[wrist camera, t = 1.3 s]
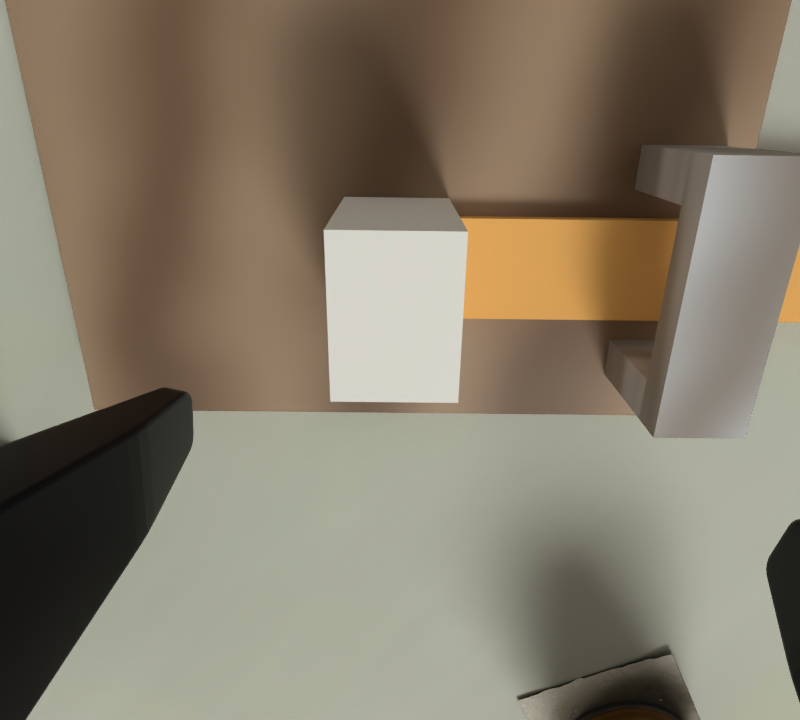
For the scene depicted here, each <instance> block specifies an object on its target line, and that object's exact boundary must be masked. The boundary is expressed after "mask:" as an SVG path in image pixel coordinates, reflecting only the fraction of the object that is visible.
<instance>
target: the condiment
mask: <svg viewBox="0 0 800 720" xmlns="http://www.w3.org/2000/svg"><path fill="white" fill-rule="evenodd" d="M660 699H662V701H659V700H660ZM518 702H519V704H520V706H521V707H522V710H523V711H524V713H525V715H526V716H527V718H528V719H529V720H700V719H699V717H698V714H697V712H696V709H695V707H694V704H693V702H692V700H691V698H690V695H689V693H688V690H687V688H686V686H685V683H684V680H683V678H682V676H681V673H680V671H679V668H678V666H677V664H676V661H675V659H674V657H673V654H672V655H667V656H663V657H659V658H656V659H646V660H644V661H641V662H637V663H633V664H629V665H627V666H624V667H621V668H614V669H611V670H608V671H605V672H601V673H598V674H596V675H593V676H590V677H587V678H577V679H576V680H575V681H573V682H571V683H569V684H566V685H564V686H561V687H558V688H553V689H549V690H545V691H542V692H541V693H539V694H537V695H534V696H531V697H528V698H524V699H521V700H518ZM575 708H578V710H577V712H576V713H574V712H573V710H574V709H575ZM573 714H575V717H574V718H571V716H572V715H573Z"/></svg>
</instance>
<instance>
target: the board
mask: <svg viewBox="0 0 800 720" xmlns="http://www.w3.org/2000/svg"><path fill="white" fill-rule="evenodd" d="M791 1H792V0H5V3H6V7H7V12H8V17H9V21H10V26H11V30H12V35H13V39H14V44H15V49H16V53H17V58H18V62H19V67H20V71H21V76H22V81H23V85H24V90H25V94H26V99H27V103H28V108H29V113H30V117H31V122H32V126H33V131H34V135H35V140H36V145H37V149H38V154H39V158H40V163H41V167H42V172H43V177H44V181H45V186H46V190H47V195H48V199H49V204H50V209H51V213H52V218H53V222H54V227H55V231H56V236H57V241H58V245H59V250H60V254H61V259H62V263H63V268H64V273H65V277H66V282H67V286H68V291H69V295H70V300H71V305H72V309H73V314H74V318H75V323H76V327H77V332H78V337H79V341H80V346H81V350H82V355H83V359H84V364H85V368H86V373H87V378H88V382H89V387H90V391H91V396H92V400H93V405H94V410H101V409H104V408H106V407H109V406H112V405H115V404H117V403H120V402H123V401H126V400H129V399H131V398H134V397H137V396H140V395H142V394H145V393H148V392H151V391H153V390H156V389H159V388H162V387H167V388H172V389H177V390H182V391H186V392H188V393H189V394H190V395H191V398H192V405H193V411H289V412H387V413H486V414H584V415H636V416H637V417H638V418H639V419H640V421H641V422H642V423H643V425H644V426H645V427H646V428H647V430H648V431H649V432H650V434H651V435H652V436H653V437H658V438H745V435H746V432H747V428H748V425H749V421H750V418H751V414H752V411H753V407H754V404H755V400H756V397H757V393H758V390H759V386H760V383H761V379H762V375H763V372H764V368H765V365H766V361H767V358H768V354H769V351H770V347H771V344H772V340H773V337H774V333H775V330H776V326H777V323H778V319H779V316H780V312H781V308H782V305H783V301H784V298H785V294H786V291H787V287H788V284H789V280H790V277H791V273H792V270H793V266H794V263H795V259H796V256H797V252H798V249H799V245H800V154H797V153H788V152H779V151H770V150H761V149H756V147H757V143H758V139H759V135H760V130H761V126H762V122H763V118H764V114H765V109H766V105H767V101H768V97H769V93H770V89H771V84H772V80H773V76H774V72H775V68H776V63H777V59H778V55H779V51H780V47H781V42H782V38H783V34H784V30H785V26H786V21H787V17H788V13H789V9H790V5H791ZM344 197H400V198H449V199H450V201H451V202H452V204H453V206H454V208H455V209H456V211H457V213H458V215H459V216H499V217H579V218H659V219H679V220H678V225H677V230H676V235H675V240H674V245H673V250H672V255H671V260H670V265H669V270H668V275H667V280H666V285H665V290H664V295H663V300H662V306H661V311H660V316H659V321H631V320H543V319H463V329H462V346H461V363H460V380H459V397H458V403H415V402H330V381H329V355H328V329H327V303H326V277H325V252H324V228H325V227H326V225H327V224H328V222H329V220H330V219H331V217H332V216H333V214H334V212H335V211H336V209H337V208H338V206H339V204H340V203H341V201H342V200H343V198H344Z"/></svg>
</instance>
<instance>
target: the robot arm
mask: <svg viewBox="0 0 800 720" xmlns="http://www.w3.org/2000/svg"><path fill="white" fill-rule="evenodd" d="M192 443H193V405H192V398H191V395H190V394H189V393H188V392H186V391H182V390H177V389H172V388H167V387H162V388H159V389H156V390H153V391H151V392H148V393H145V394H142V395H140V396H137V397H134V398H131V399H129V400H126V401H123V402H120V403H117V404H115V405H112V406H109V407H106V408H104V409H101V410H98V411H95V412H93V413H90V414H87V415H84V416H82V417H79V418H76V419H73V420H71V421H68V422H65V423H62V424H60V425H57V426H54V427H51V428H48V429H46V430H43V431H40V432H37V433H35V434H32V435H29V436H26V437H24V438H21V439H18V440H15V441H13V442H10V443H7V444H4V445H2V446H0V720H26V719H27V717H28V715H29V714H30V712H31V711H32V709H33V708H34V706H35V705H36V703H37V702H38V700H39V699H40V697H41V696H42V694H43V693H44V691H45V690H46V688H47V687H48V685H49V684H50V682H51V681H52V679H53V678H54V676H55V674H56V673H57V671H58V670H59V668H60V667H61V665H62V664H63V662H64V661H65V659H66V658H67V656H68V655H69V653H70V652H71V650H72V649H73V647H74V646H75V644H76V643H77V641H78V640H79V638H80V637H81V635H82V633H83V632H84V630H85V629H86V627H87V626H88V624H89V623H90V621H91V620H92V618H93V617H94V615H95V614H96V612H97V611H98V609H99V608H100V606H101V605H102V603H103V602H104V600H105V599H106V597H107V595H108V594H109V592H110V591H111V589H112V588H113V586H114V585H115V583H116V582H117V580H118V579H119V577H120V576H121V574H122V573H123V571H124V570H125V568H126V567H127V565H128V564H129V562H130V561H131V559H132V558H133V556H134V554H135V553H136V551H137V550H138V548H139V547H140V545H141V544H142V542H143V540H144V539H145V537H146V536H147V534H148V532H149V530H150V528H151V527H152V525H153V523H154V521H155V519H156V517H157V515H158V513H159V511H160V509H161V507H162V505H163V503H164V501H165V499H166V497H167V495H168V493H169V491H170V489H171V487H172V485H173V484H174V482H175V480H176V478H177V476H178V474H179V472H180V470H181V468H182V466H183V464H184V462H185V460H186V458H187V456H188V454H189V452H190V449H191V447H192ZM766 571H767V578H768V583H769V587H770V591H771V595H772V599H773V604H774V608H775V612H776V616H777V620H778V625H779V629H780V633H781V637H782V641H783V646H784V650H785V654H786V658H787V662H788V666H789V670H790V673H791V677H792V680H793V683H794V686H795V690H796V693H797V696H798V699H799V702H800V519H798V520H795V521H793V522H792V523H791V524H790V525H789V526H788V528H787V530H786V531H785V533H784V534H783V536H782V537H781V539H780V541H779V542H778V544H777V545H776V547H775V548H774V550H773V552H772V553H771V555H770V556H769V559H768V562H767V567H766Z"/></svg>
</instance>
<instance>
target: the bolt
mask: <svg viewBox="0 0 800 720" xmlns="http://www.w3.org/2000/svg"><path fill="white" fill-rule="evenodd" d="M678 220H679V219H659V218H579V217H499V216H459V215H458V213H457V211H456V209H455V208H454V206H453V204H452V202H451V201H450V199H449V198H400V197H344V198H343V200H342V201H341V203H340V204H339V206H338V208H337V209H336V211H335V212H334V214H333V216H332V217H331V219H330V220H329V222H328V224H327V225H326V227H325V228H324V252H325V277H326V303H327V329H328V355H329V381H330V402H415V403H458V397H459V380H460V363H461V346H462V329H463V319H543V320H631V321H659V316H660V311H661V306H662V300H663V295H664V290H665V285H666V280H667V275H668V270H669V265H670V260H671V255H672V250H673V245H674V240H675V235H676V230H677V225H678ZM778 322H800V245H799V249H798V252H797V256H796V259H795V263H794V266H793V270H792V273H791V277H790V280H789V284H788V287H787V291H786V294H785V298H784V301H783V305H782V308H781V312H780V316H779V319H778Z"/></svg>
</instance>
